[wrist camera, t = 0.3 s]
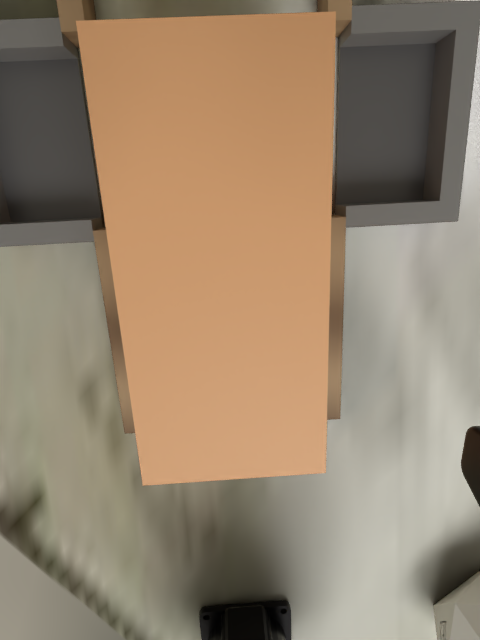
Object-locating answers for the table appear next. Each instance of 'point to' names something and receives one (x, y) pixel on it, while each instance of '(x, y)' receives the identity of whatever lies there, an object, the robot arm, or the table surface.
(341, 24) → the small wooden bench
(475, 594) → the die
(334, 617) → the table surface
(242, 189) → the orange tan rectangular block
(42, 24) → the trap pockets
